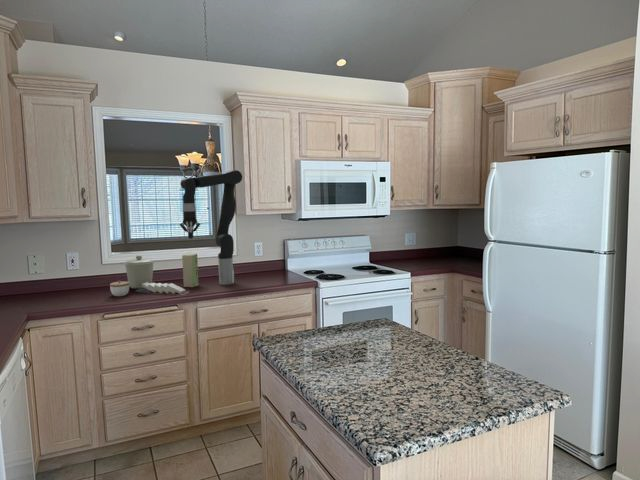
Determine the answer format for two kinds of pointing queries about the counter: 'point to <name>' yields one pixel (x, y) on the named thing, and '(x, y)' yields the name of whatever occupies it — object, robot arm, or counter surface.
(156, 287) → the domino
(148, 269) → the canister
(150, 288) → the domino
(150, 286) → the domino
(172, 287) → the domino
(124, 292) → the lidded jar
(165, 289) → the domino
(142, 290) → the domino
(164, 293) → the runner
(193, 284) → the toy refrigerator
